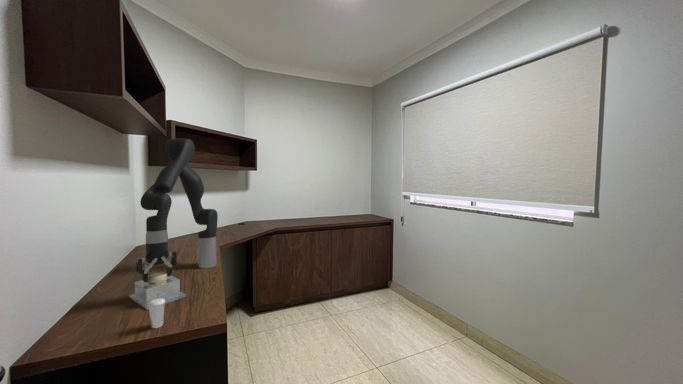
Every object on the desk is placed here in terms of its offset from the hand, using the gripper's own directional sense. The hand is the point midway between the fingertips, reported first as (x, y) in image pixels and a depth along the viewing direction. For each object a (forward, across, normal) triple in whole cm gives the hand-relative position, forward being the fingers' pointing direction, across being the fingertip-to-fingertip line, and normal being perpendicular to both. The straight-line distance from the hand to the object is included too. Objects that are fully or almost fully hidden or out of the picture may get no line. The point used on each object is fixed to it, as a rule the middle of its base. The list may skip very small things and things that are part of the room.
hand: (157, 278), depth 107 cm
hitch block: (+8, 0, 0) cm, 8 cm away
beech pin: (+6, 0, 0) cm, 6 cm away
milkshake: (+8, +9, +24) cm, 27 cm away
